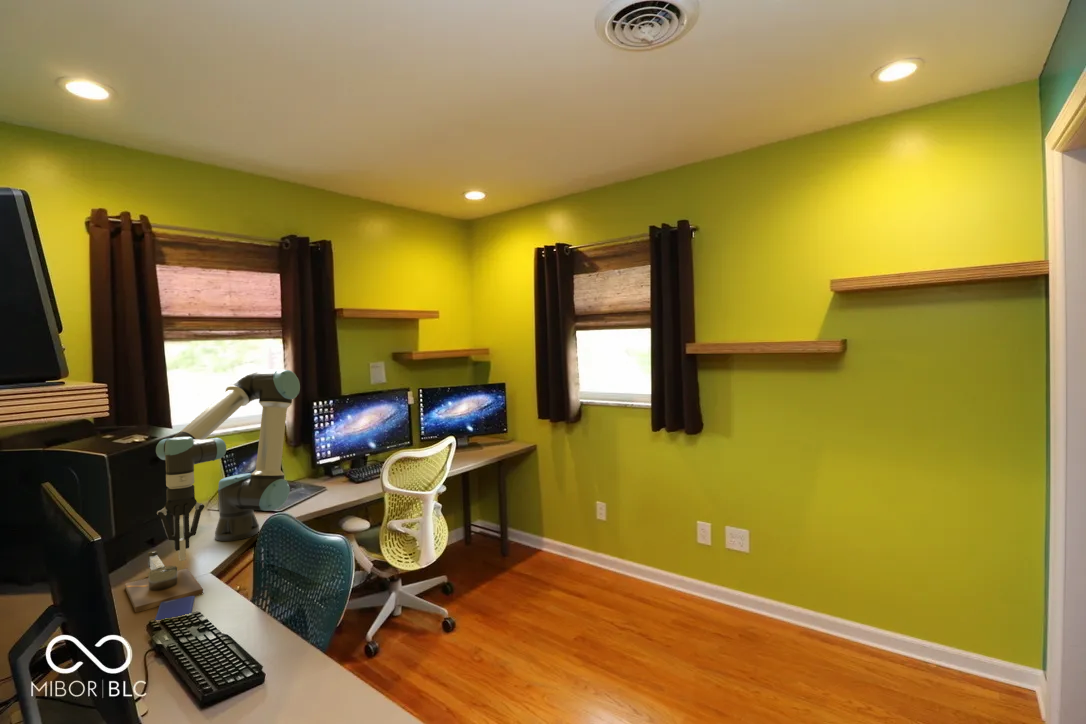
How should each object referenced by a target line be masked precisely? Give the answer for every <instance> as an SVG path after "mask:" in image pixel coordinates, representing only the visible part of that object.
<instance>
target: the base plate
mask: <svg viewBox="0 0 1086 724" xmlns="http://www.w3.org/2000/svg"><path fill="white" fill-rule="evenodd" d="M177 580H178V583H177V584H176V585H174V586H172V587H169V588H166V589H162V590H150V589H149V577H146V578H141V579H138V580H135V581H131V582H130V581H129V582H126V583H125V584H124V588H125V591H126V593H127V596H128V598H129V601H130V603H131V605H132V607H133V610H134V612H135V613H139V612H143V611H147V610H150V609H153V608H157V607H159V606H160V603H161V602H164V601H169V600H174V599H179V598H184V597H189V596H195V597H197V596H200V595H203V594H204V588H203V586H202V585H201V584H200V583H199V581H198V580H197V579H196V578H195V576H194V575H193V574H192V572H191V571H190V570H189V568H188V567H187V568H186V567H185V568H183V569H179V570H178V569H177ZM202 593H203V594H202ZM199 594H200V595H199ZM196 595H197V596H196Z"/></svg>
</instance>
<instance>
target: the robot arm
mask: <svg viewBox="0 0 1086 724" xmlns="http://www.w3.org/2000/svg"><path fill="white" fill-rule="evenodd" d="M300 384H301V383H300V380H299V377H297V374H296V373H295V372H294V371H292V370H290V369H283V368H282V369H281V368H280V369H279V368H277V369H256V370H253V371H250V372H247V373H246V374H243V375H241V376H240V377H239V378H236V380H235V381H233V382H232V383H231V384H229V386H227V387H226V388H225V393H223V394H222V395H221V396H220V397H219V398H217V400H215V401H214V402H213V403H211V404H210V406H209V405H208V407H207V408H206V409H205V410H204V411H202V412H201V413H200V414H199V415H198V416H197V417H195V418H194V419H193V420H192V421H190V422H189V423H188V424H187V425H186V426H185V427H184V428H183V429H181V431H178V432H177V434H176V435H174V436H173V437H168V438H164V439H161V440H159V442H158V443H157V445H156V446H155V453H156V457H158V458H159V459H160V460H162V461H165V485H166V487H167V488H166V490H165V491H166V493H165V495H166V502H165V504H164V507H163V508H162V509H160V510H157V511H156V514H157V516H158V517H159V518H160V519H161V523H162V526H163V529H164V532H165V535H166V538H167V539H168V540H169V541H173V543H174V544H173V545H174V550H175V551H176V552H178V560H179V562H182V561H183V562H184V561H186V560H187V549H190V538H192V537H193V536H195V535H196V534H197V529H198V526H199V521H200V518H201V516H202V515H201V514H202V512H203V510H204V508H205V505H204V504H203V503H200V502H197V499H196V496H195V495H196V494H195V485H194V483H195V465H197V464H203V463H207V462H214V461H216V460H220V459H223V458H224V456H225V455H226V452H227V444H226V442H225V441H224V440H223V439H222V438H220V437H214V438H213V437H209V436H210V435H211V434H212V433H214V432H215V430H216V429H218V428H219V427H220V426H221V425H222V424H224V423H225V421H227V420H228V419H229V417H231V416H232V415H233V414H234V413H235V412H237V411H238V409H240V408H241V407H244V406H247V405H248V404H249V403H250V402H252V401H254V400H258V403H259V405H260V406H261V407H262V412H261V421H260V429H259V438H258V448H257V455H256V456H257V457H256V464H255V465H256V466H255V469H254V471H253V472H251V473H250V472H245V473H241V474H236V475H235V474H234V475H231V476H230V475H229V476H227V477H223V478H222V479H220V480H219V481H218V489H217V494H218V509H219V519H218V521H217V525H216V528H215V531H214V539H215V540H216V541H221V542H230V541H239V540H244V539H247V538H250V537H254V536H256V535H257V534H259V533H258V531H259V532H260V524H259V522H258V519H257V516H256V515H255V512H254V511H255V510H256V511H257V510H258V511H264V512H265V511H276V510H278V509H280V508H281V507H283V505H284V504H286V502H287V501H288V498H289V495H290V492H291V491H290V490H291V489H290V484H289V482H288V481H287V480H285V473H284V472H283V471H282V470H281V468H282V459H283V451H284V449H283V447H284V440H285V433H286V432H285V431H286V423H287V420H286V419H287V410H288V409H289V407H290V406H291V405H292V404H293V400H294V399H296V398H297V396H298V395H299V394H300V389H301V385H300ZM208 437H209V438H208ZM193 509H195V511H194V515H193V517H192V518H193V519H192V522H191V526H190V513H191V512H192V510H193ZM167 512H169V514H170V515H172V519H173V534H172V530H171V527H170V524H169V521H168V518H167V514H168V513H167ZM181 516H182V524H183V525H182V526H183V530H182V531H183V537H181V531H180V530H181V527H180V519H181Z"/></svg>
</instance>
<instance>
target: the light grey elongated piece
mask: <svg viewBox="0 0 1086 724" xmlns="http://www.w3.org/2000/svg"><path fill="white" fill-rule="evenodd" d="M158 553H159V552H158V550H150V551H149V552H147V567H148V568H149V569H150V571H149V572H147V573H148V574H147V575H148V577H147V578H149V589H150V590H162V589H166V588H169V587H172V586H174V585H176V584H177V583H178V580H177V571H178V567H177V566H176V565H166V566H165V564H164V563H163V561H162V559H161V558H160V557H159V556H158Z"/></svg>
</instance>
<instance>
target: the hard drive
mask: <svg viewBox="0 0 1086 724" xmlns="http://www.w3.org/2000/svg"><path fill="white" fill-rule="evenodd" d="M195 600H196V596H189V597H184V598H179V599H174V600H169V601H164V602H161V603H160V606H158V609H157V612H156V615H155V618H154V621H155V620H161V619H165V618H172V617H178V616H182V615H185V614H189V613H192V614H193V610H194V605H195Z"/></svg>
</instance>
